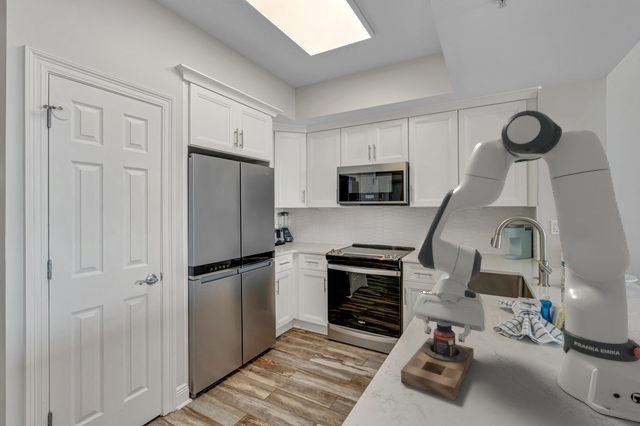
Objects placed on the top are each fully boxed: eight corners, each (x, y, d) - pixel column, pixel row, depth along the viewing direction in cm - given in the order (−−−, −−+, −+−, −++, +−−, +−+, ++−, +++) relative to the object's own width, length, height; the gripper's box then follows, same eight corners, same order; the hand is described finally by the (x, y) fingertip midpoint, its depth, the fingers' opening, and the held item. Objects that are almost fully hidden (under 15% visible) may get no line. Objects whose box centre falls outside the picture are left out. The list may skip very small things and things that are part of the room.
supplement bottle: (458, 368, 81) (457, 328, 81) (435, 366, 83) (435, 326, 83) (452, 357, 87) (452, 320, 87) (432, 355, 88) (431, 319, 88)
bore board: (473, 358, 87) (473, 346, 87) (454, 400, 67) (454, 385, 67) (429, 346, 94) (429, 335, 94) (401, 381, 75) (401, 368, 75)
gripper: (416, 285, 97) (406, 324, 89) (486, 295, 84) (481, 341, 77) (420, 295, 100) (411, 333, 93) (488, 306, 88) (484, 351, 80)
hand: (443, 337), depth 84 cm, fingers open, 8 cm apart
